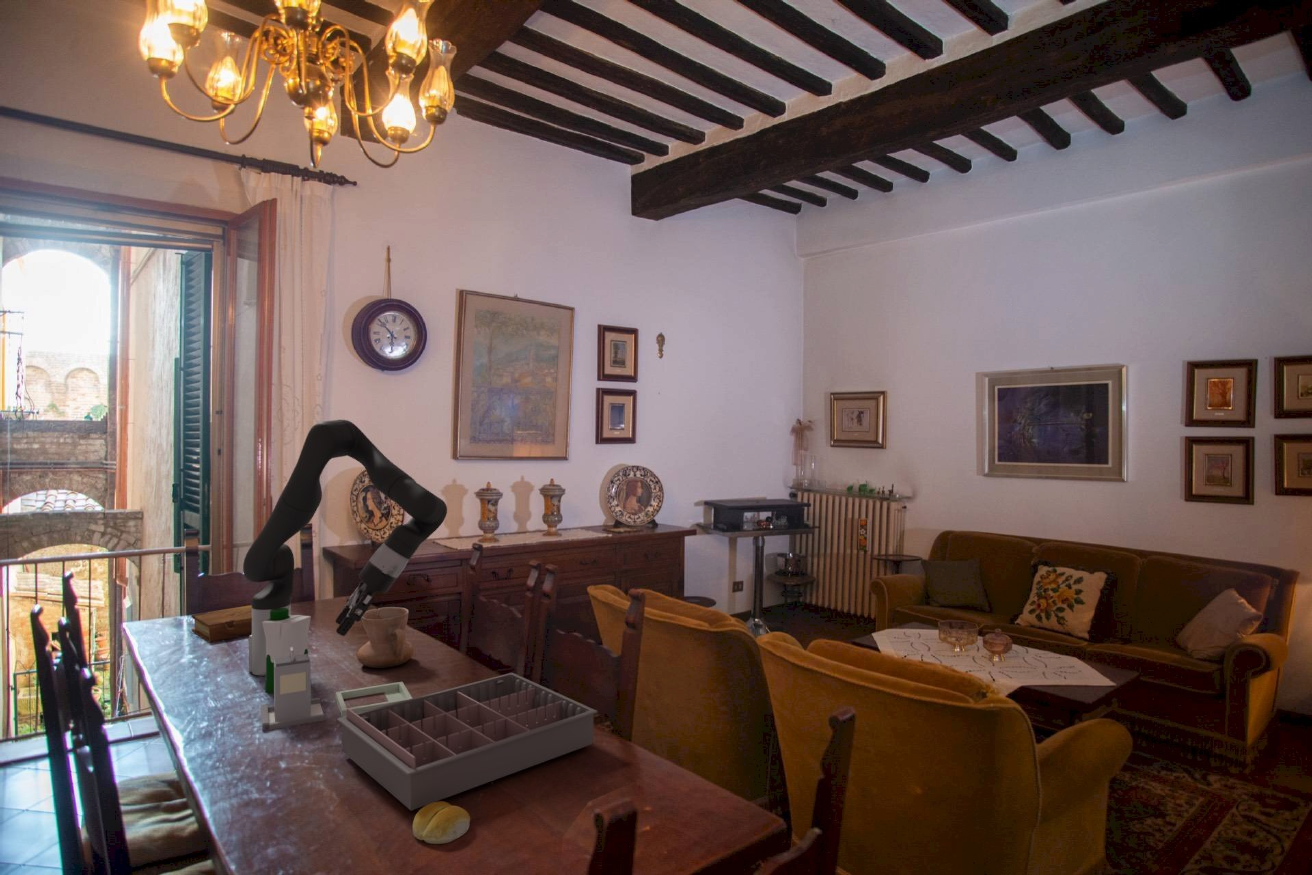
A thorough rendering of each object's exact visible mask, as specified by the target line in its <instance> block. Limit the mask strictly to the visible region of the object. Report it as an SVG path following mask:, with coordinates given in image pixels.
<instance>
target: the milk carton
mask: <svg viewBox="0 0 1312 875" xmlns="http://www.w3.org/2000/svg"><path fill="white" fill-rule="evenodd" d="M311 618H312V616H311V615H303V614H291V615H289V610H288V609H287V608H277V609H273V610H271V611H270V619H268V620H266V621H264V622H262V624H263V628H264V633H265V637H266V675H265V688H264V693H269V694H274V661H275V658H280V657H288V656H290V647H293V649H294V656H295V655H303V654H308V655H309V630H310V629H309V628H310V624H311V620H312V619H311Z"/></svg>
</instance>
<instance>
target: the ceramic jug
mask: <svg viewBox="0 0 1312 875" xmlns="http://www.w3.org/2000/svg"><path fill="white" fill-rule="evenodd" d="M408 619H409V609H407V608H405V607H398V606H397V607H395V606H389V607H388V606H386V607H379V608H378V609H377V608H373V609H368V610H367V611H366V612H365V613H364V615H363V616H362V618H361V622H362V625H363V629H364V631H365V634H366V635H367V637H368V641H367V642H366V643H365V644H363V645H362V646H361V647H360V648H359V649H358V651H357V654H356V657H357V660H358V662H359V663H360V664H361V665H363V666H365V667H367V668H373V669H385V668H387V669H388V668H392V667H396V666H399V665H402V664H404V663H406V662H407V661H409V660H410V659H412V656H413V654H414V647H413V644H412V643H411V642H410V641H408V640H406V634H405V633H406V632H405V629H406V628H407V623H408Z"/></svg>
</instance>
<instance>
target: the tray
mask: <svg viewBox="0 0 1312 875" xmlns="http://www.w3.org/2000/svg"><path fill="white" fill-rule="evenodd" d="M377 694H384V696H385V698H386V699H387V701H383V702H376V703H372V704H371V703H370V704H366V705H365V704H364V705H359V706H353V707H347V706H346V704H345V701H344V700H345V699H352V698H357V697H364V696H369V695H377ZM409 699H413V697H412V695H411V694H410V691H408V689H407V687H406V686H405V684H404V682H403V681H399V682H398V681H397V682H391V683H386V684H380V685H379V684H377V685H373V686H366V687H361V688H353V689H346V690H341V691H336V692H335V701H336V703H337V706H338V709H339V711H340V714H341V717H344V716H347V708H349V709H350V710H352V711H353V712H355V713H359V712H363V711H367V710H371V709H374V708H378V707H382V706H386V705H390V704H394V703H398V702H401V701H405V700H409Z"/></svg>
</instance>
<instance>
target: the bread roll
mask: <svg viewBox="0 0 1312 875" xmlns="http://www.w3.org/2000/svg"><path fill="white" fill-rule="evenodd" d="M470 823H471V816H470V814H469V812H468V811H467V810H466V809H464V808H462V807H460V806H458V805H452V804H450V803H449V802H446V801H442V800H439V801H436V802H433V803H430V804H428V805H425V806H422V807H421V808H420V809H419V810H418V812H417V813H416V814H415V816H414V819H413V821H412V834H413V836H414V837H415V838H416V839H418V840H419V841H424V842H426V843H427V844H431V845H442V844H448V843H450V842H453V841H455V840H457V839H459V838H460V837H463V835H464V834H466V833H467V832H468V830H469V828H470Z"/></svg>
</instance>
